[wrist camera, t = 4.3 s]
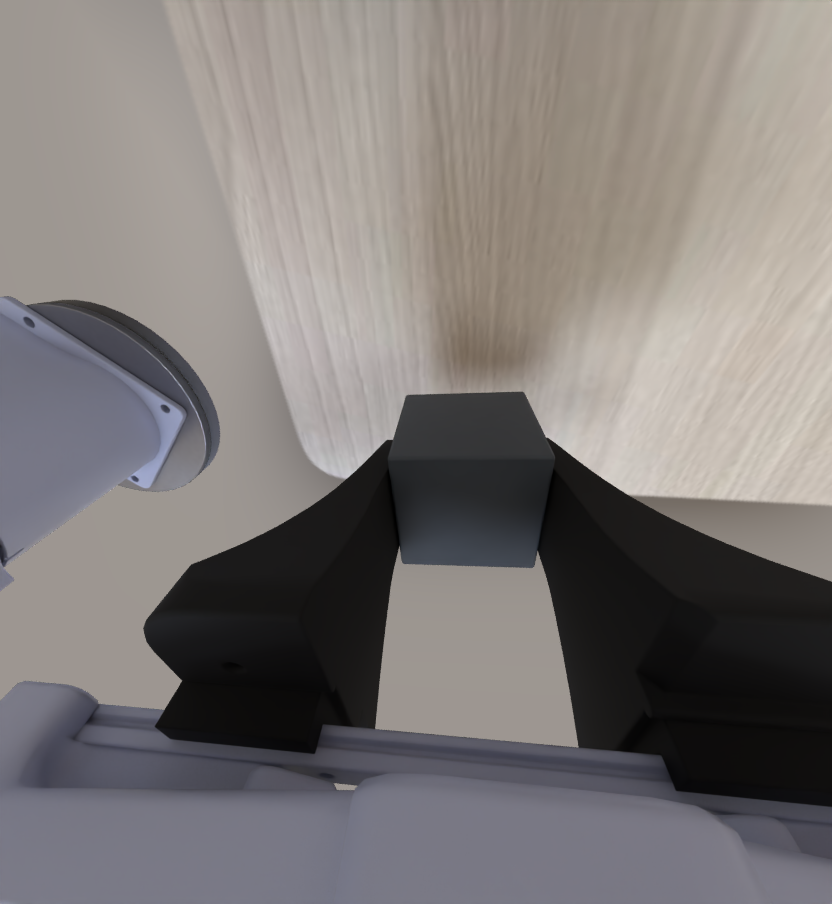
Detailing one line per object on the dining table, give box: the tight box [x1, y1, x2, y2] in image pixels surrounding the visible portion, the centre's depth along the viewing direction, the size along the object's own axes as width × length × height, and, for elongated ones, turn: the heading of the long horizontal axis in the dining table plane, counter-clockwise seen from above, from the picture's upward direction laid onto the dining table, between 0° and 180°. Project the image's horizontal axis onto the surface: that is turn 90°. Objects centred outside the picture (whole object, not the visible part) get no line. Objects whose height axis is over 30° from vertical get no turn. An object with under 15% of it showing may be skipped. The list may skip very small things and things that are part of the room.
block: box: [388, 392, 555, 568], centre depth 10 cm, size 4×4×4 cm
